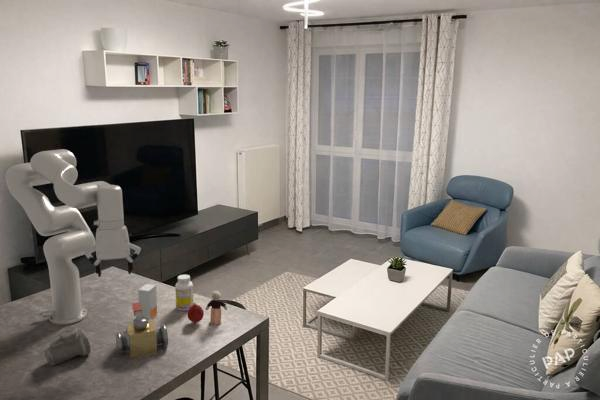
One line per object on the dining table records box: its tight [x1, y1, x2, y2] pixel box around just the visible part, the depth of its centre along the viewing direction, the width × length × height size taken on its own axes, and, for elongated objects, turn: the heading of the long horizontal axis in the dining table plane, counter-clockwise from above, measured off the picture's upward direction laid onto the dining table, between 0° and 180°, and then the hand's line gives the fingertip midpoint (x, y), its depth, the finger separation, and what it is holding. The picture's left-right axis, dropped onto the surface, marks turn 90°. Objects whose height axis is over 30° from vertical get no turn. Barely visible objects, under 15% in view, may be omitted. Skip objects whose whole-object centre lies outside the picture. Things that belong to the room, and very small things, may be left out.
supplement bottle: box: [175, 274, 195, 312], centre depth 185 cm, size 7×7×13 cm
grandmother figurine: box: [205, 290, 228, 326], centre depth 174 cm, size 8×4×13 cm, turn 102°
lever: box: [131, 301, 149, 330], centre depth 160 cm, size 16×5×2 cm, turn 25°
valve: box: [115, 318, 169, 359], centre depth 156 cm, size 15×8×8 cm, turn 115°
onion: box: [186, 302, 205, 324], centre depth 174 cm, size 6×6×8 cm
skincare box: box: [137, 283, 158, 320], centre depth 177 cm, size 6×4×12 cm
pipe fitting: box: [44, 325, 91, 367], centre depth 149 cm, size 12×8×10 cm
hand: (114, 273), depth 158 cm, fingers open, 8 cm apart
